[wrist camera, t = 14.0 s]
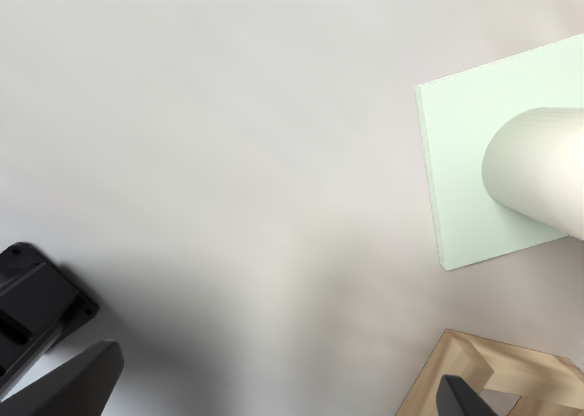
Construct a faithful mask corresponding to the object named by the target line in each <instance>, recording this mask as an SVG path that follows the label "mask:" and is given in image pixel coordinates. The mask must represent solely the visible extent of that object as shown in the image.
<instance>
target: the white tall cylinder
mask: <svg viewBox="0 0 584 416" xmlns="http://www.w3.org/2000/svg"><path fill="white" fill-rule="evenodd" d="M482 180H483V184H484V187H485V189H486V191H487V192H488V194H489V195H490V196H491V197H492V198H493V199H494V200H495V201H496V202H498V203H500V204H502V205H504V206H506V207H508V208H511V209H513V210H515V211H517V212H520V213H522V214H524V215H526V216H529V217H531V218H533V219H535V220H538V221H540V222H542V223H544V224H546V225H549V226H551V227H553V228H555V229H558V230H560V231H562V232H564V233H567V234H569V235H571V236H573V237H576V238H578V239H580V240H582V241H584V108H565V107H539V108H534V109H529V110H527V111H524V112H522V113H520V114H518V115H516V116H514V117H513V118H511V119H510V120H509V121H507V122H506V123H505V124H504V125H503V126H502V127H501V128H500V129H499V130H498V131H497V132H496V134H495V135H494V136H493V138H492V139H491V141H490V143H489V145H488V147H487V149H486V151H485V154H484V157H483V161H482Z"/></svg>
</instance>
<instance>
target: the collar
mask: <svg viewBox="0 0 584 416" xmlns="http://www.w3.org/2000/svg"><path fill="white" fill-rule="evenodd" d="M444 374H450V375H458V376H460V377H461V378H463V379H464V380H465V381H466V383H467V384H468V385H469V386H470V387H471V388H472V389H473V390H474V391H475V392H476V393H477V394H478V395H479V393H480V392H481V391H482V389H483V388H486V389H490V390H495V391H500V392H504V393H509V394H513V395H518V396H522V397H521V398H520V399H519V401H518V402H517V403H516V405H515V406H514V407H513V409H512V410H511V411H510V413H509V414H508V415H507V416H584V373H583V372H582V371H581V370H580V369H579V368H577V367H576V366H575V365H574V364H573V363H572V362H571V361H570V360H568V359H566V358H562V357H558V356H554V355H550V354H546V353H542V352H538V351H534V350H530V349H526V348H522V347H517V346H513V345H509V344H505V343H501V342H497V341H493V340H489V339H485V338H481V337H477V336H473V335H469V334H465V333H461V332H457V331H452V330H448V329H446V330H445V332H444V334H443V336H442V337H441V339H440V341H439V342H438V344H437V346H436V347H435V349H434V351H433V352H432V354H431V356H430V357H429V359H428V361H427V363H426V364H425V366H424V368H423V369H422V371H421V373H420V374H419V376H418V378H417V379H416V381H415V383H414V385H413V386H412V388H411V390H410V391H409V393H408V395H407V396H406V398H405V400H404V401H403V403H402V405H401V406H400V408H399V410H398V412H397V413H396V415H395V416H439V415H438V411H437V406H436V393H437V389H438V386H439V383H440V380H441V377H442V375H444Z"/></svg>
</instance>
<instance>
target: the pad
mask: <svg viewBox="0 0 584 416" xmlns="http://www.w3.org/2000/svg"><path fill="white" fill-rule="evenodd" d="M414 91H415V97H416V104H417V111H418V118H419V124H420V131H421V138H422V144H423V151H424V158H425V165H426V171H427V178H428V185H429V191H430V198H431V205H432V212H433V218H434V225H435V232H436V239H437V245H438V252H439V259H440V265H441V266H442V267H443V268H444V269H445V270H446V271H448V270H452V269H455V268H459V267H462V266H466V265H469V264H473V263H476V262H480V261H483V260H487V259H490V258H494V257H497V256H500V255H504V254H507V253H511V252H514V251H518V250H521V249H525V248H528V247H532V246H535V245H539V244H542V243H545V242H549V241H552V240H556V239H559V238H563V237H566V236H570V235H569V234H567V233H564V232H562V231H560V230H558V229H555V228H553V227H551V226H549V225H546V224H544V223H542V222H540V221H538V220H535V219H533V218H531V217H529V216H526V215H524V214H522V213H520V212H517V211H515V210H513V209H511V208H508V207H506V206H504V205H502V204H500V203H498V202H496V201H495V200H494V199H493V198H492V197H491V196H490V195H489V194H488V192H487V191H486V189H485V187H484V184H483V180H482V161H483V157H484V154H485V151H486V149H487V147H488V145H489V143H490V141H491V139H492V138H493V136H494V135H495V134H496V132H497V131H498V130H499V129H500V128H501V127H502V126H503V125H504V124H505V123H506V122H507V121H509V120H510V119H511V118H513V117H514V116H516V115H518V114H520V113H522V112H524V111H527V110H529V109H534V108H539V107H565V108H584V33H583V34H579V35H576V36H573V37H570V38H567V39H564V40H560V41H557V42H554V43H551V44H548V45H545V46H541V47H538V48H535V49H532V50H529V51H526V52H522V53H519V54H516V55H513V56H510V57H507V58H503V59H500V60H497V61H494V62H491V63H488V64H484V65H481V66H478V67H475V68H472V69H469V70H465V71H462V72H459V73H456V74H453V75H450V76H446V77H443V78H440V79H437V80H434V81H431V82H427V83H424V84H421V85H418V86H415V87H414Z"/></svg>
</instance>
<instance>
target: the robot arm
mask: <svg viewBox="0 0 584 416" xmlns="http://www.w3.org/2000/svg"><path fill="white" fill-rule="evenodd" d="M17 249H18V250H20V251H21V253H20V252H19V251H18V250H17ZM89 309H90V310H92V311H90V310H89ZM99 309H100V308H99V306H98V305H97V304H96V303H95V302H94V301H93V300H92V299H90V298H89V297H88V296H87V295H86V294H85V293H83V292H82V291H81V290H80V289H79V288H77V287H76V286H75V285H74V284H73V283H72V282H70V281H69V280H68V279H67V278H66V277H64V276H63V275H62V274H61V273H60V272H59V271H57V270H56V269H55V268H54V267H53V266H51V265H50V264H49V263H48V262H47V261H46V260H44V259H43V258H42V257H41V256H40V255H38V254H37V253H36V252H35V251H34V250H33V249H31V248H30V247H29V246H28V245H26V244H25V243H22V242H17V243H15V244H13V245H11V246H9V247H8V248H7V249H6V250H4V251H3V252H2V253H1V254H0V416H101V414H102V412H103V410H104V407H105V405H106V403H107V401H108V399H109V397H110V395H111V393H112V391H113V389H114V386H115V384H116V382H117V380H118V378H119V376H120V374H121V372H122V369H123V366H124V358H123V354H122V350H121V346H120V343H119V342H118V341H117V340H110V339H104V340H101V341H99V342H98V343H96V344H94V345H93V346H91V347H90V348H88V349H86V350H85V351H83V352H82V353H80V354H78V355H77V356H75V357H74V358H72V359H70V360H69V361H67V362H66V363H64V364H62V365H61V366H59V367H57V368H56V369H54V370H53V371H51V372H49V373H48V374H46V375H45V376H43V377H41V378H40V379H38V380H37V381H35V382H33V383H32V384H30V385H29V386H27V387H25V388H24V389H22V390H20V391H19V392H17V393H16V394H14V395H12V396H11V397H9V398H8V399H6V400H4V401H3V402H1V401H2V399H3V398H4V397H5V396H6V395H7V394H8V393H9V392H10V391H11V389H12V388H13V387H14V386H15V385H16V384H17V383H18V382H19V381H20V379H21V378H22V377H23V376H24V375H25V374H26V373H27V372H28V371H29V369H30V368H31V367H32V366H33V365H34V364H35V363H36V362H37V361H38V359H39V358H40V357H41V356H42V355H43V354H44V353H45V352H46V351H48V350H49V349H50V348H52V347H53V346H54V345H56V344H57V343H59V342H60V341H61V340H63V339H64V338H66V337H67V336H68V335H70V334H71V333H73V332H74V331H75V330H77V329H78V328H79V327H81V326H82V325H84V324H85V323H86V322H88V321H89V320H91V319H92V318H93V317H95V315H96V314H97V313H98V312H99ZM436 406H437V411H438V415H439V416H498V415H497V414H496V413H495V412H494V411H493V410H492V409H491V408H490V407H489V406H488V405H487V403H486V402H485V401H484V400H483V399H482V398H481V397H480V396H479V395H478V394H477V393H476V392H475V391H474V390H473V389H472V388H471V387H470V386H469V385H468V384H467V383H466V381H465V380H464V379H463V378H461V377H460V376H458V375H450V374H444V375H442V377H441V380H440V383H439V386H438V389H437V393H436Z"/></svg>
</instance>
